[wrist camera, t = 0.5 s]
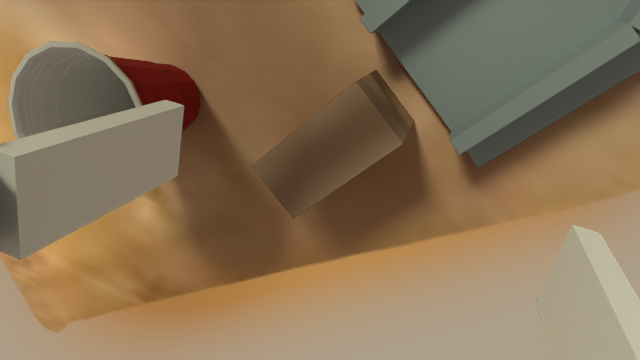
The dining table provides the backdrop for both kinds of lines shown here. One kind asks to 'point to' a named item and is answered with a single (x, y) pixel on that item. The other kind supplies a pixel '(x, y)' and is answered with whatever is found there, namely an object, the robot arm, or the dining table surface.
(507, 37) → the grey grooved base
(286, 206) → the brown rectangular block
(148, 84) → the plastic cup
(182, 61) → the dining table surface
